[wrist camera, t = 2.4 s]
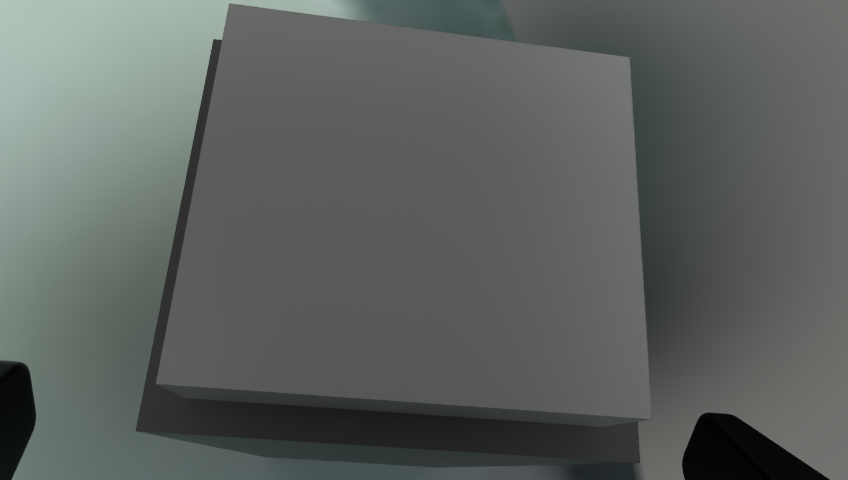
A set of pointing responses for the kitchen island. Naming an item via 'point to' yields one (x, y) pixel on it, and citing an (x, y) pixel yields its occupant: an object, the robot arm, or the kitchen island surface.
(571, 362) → the iec plug
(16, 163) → the kitchen island surface
